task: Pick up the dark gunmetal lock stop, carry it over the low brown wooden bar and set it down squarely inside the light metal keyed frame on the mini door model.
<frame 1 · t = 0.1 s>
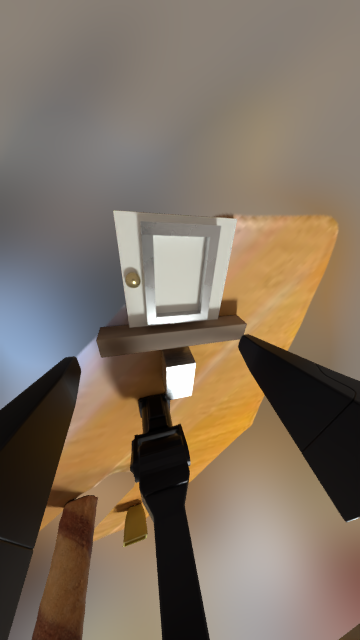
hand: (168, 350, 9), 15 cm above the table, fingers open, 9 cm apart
mini door model: (177, 276, 22), on the table
flower pot: (134, 506, 69), on the table
wafer roll: (82, 500, 52), on the table
lock stop: (173, 360, 30), on the table
brown wooden bar: (175, 328, 26), on the table
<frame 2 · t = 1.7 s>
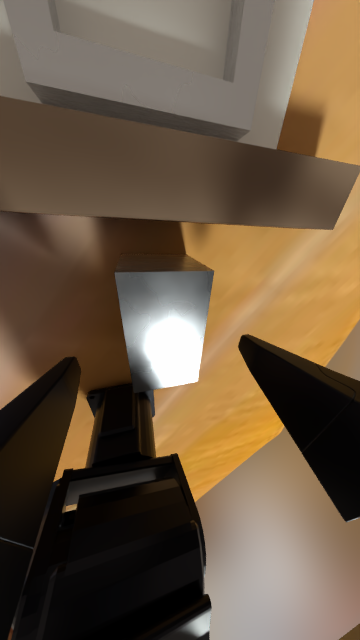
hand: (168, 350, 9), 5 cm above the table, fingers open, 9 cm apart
lock stop: (156, 305, 13), on the table
brown wooden bar: (153, 190, 9), on the table
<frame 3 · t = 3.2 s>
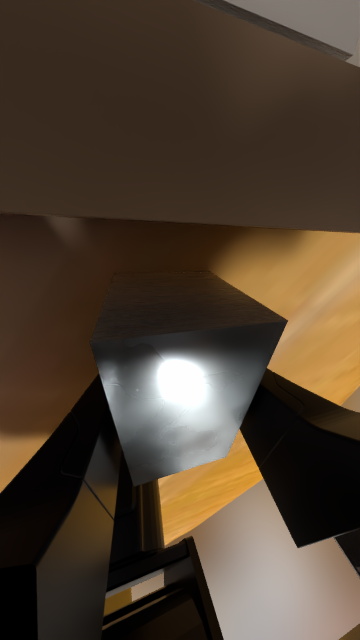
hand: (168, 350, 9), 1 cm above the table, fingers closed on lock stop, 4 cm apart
flower pot: (117, 563, 48), on the table
lock stop: (165, 338, 10), on the table, touching gripper
brown wooden bar: (165, 174, 6), on the table
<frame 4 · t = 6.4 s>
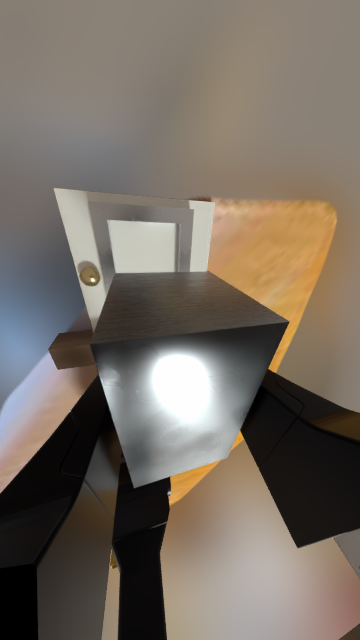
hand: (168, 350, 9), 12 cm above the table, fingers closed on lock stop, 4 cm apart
mini door model: (147, 272, 18), on the table
lock stop: (165, 339, 10), point 11 cm above the table, touching gripper
brown wooden bar: (151, 333, 23), on the table
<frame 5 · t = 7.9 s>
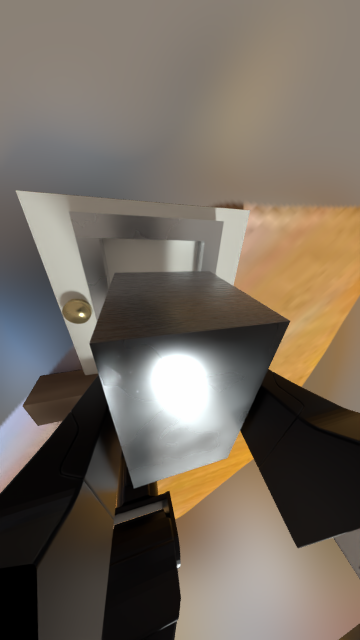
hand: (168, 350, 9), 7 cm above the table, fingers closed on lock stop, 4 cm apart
mini door model: (154, 300, 14), on the table
lock stop: (165, 339, 10), point 6 cm above the table, touching gripper
brown wooden bar: (157, 368, 18), on the table
when the fingers open (3 cm above the table, at t = 9.5 s): lock stop drops 1 cm, resting on mini door model.
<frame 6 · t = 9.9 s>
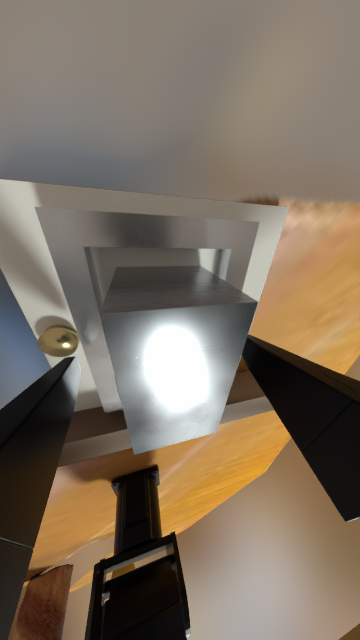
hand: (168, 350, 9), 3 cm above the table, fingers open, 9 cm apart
mini door model: (160, 321, 11), on the table
flower pot: (123, 556, 58), on the table
wafer roll: (54, 569, 42), on the table
lock stop: (162, 328, 11), point 1 cm above the table, touching mini door model
brown wooden bar: (161, 396, 16), on the table
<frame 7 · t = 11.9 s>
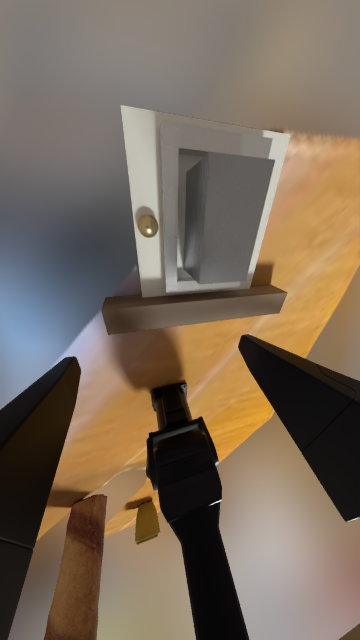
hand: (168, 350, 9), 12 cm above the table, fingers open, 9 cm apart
mini door model: (203, 226, 17), on the table
flower pot: (145, 503, 66), on the table
wafer roll: (91, 500, 49), on the table
lock stop: (206, 227, 16), point 1 cm above the table, touching mini door model
brown wooden bar: (197, 301, 21), on the table
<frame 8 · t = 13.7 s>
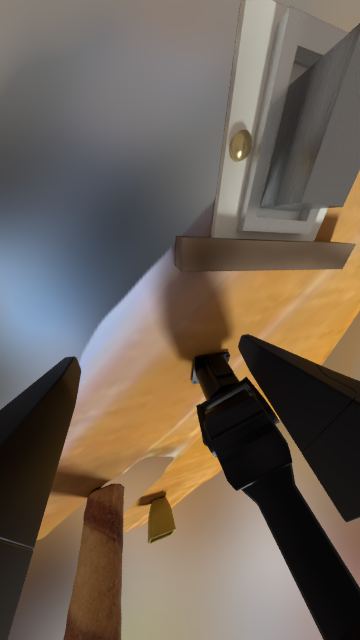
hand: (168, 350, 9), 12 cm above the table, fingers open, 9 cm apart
mini door model: (285, 160, 16), on the table
flower pot: (158, 499, 63), on the table
wafer roll: (107, 490, 46), on the table
lock stop: (291, 158, 15), point 1 cm above the table, touching mini door model
brown wooden bar: (259, 252, 20), on the table
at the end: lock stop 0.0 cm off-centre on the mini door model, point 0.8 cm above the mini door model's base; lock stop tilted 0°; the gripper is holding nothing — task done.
